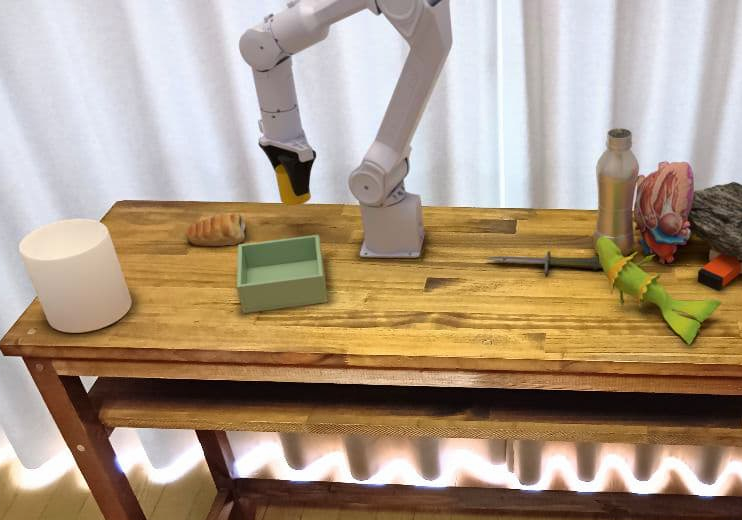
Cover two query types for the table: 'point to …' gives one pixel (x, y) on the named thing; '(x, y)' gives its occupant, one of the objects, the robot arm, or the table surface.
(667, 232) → the anatomical model
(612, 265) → the toy
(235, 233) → the pastry
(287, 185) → the pepper
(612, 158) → the plastic bottle
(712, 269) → the toy
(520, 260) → the knife
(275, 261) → the basket
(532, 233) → the table surface
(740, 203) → the rock
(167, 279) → the table surface
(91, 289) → the cup
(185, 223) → the table surface
